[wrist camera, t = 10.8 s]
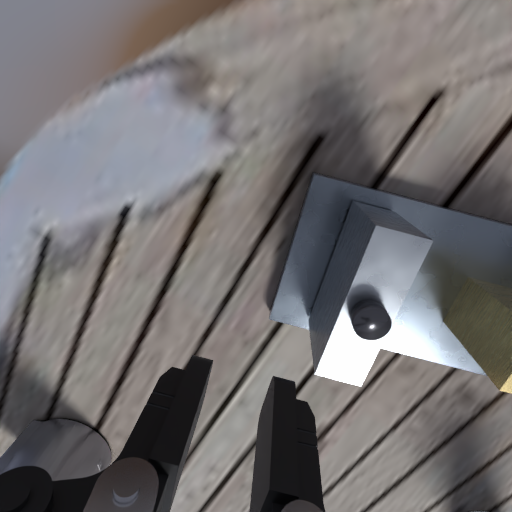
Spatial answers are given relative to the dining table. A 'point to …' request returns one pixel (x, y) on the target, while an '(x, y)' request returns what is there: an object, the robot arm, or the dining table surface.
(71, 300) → the dining table surface
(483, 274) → the vise
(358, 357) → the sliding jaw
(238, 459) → the dining table surface
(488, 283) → the block
